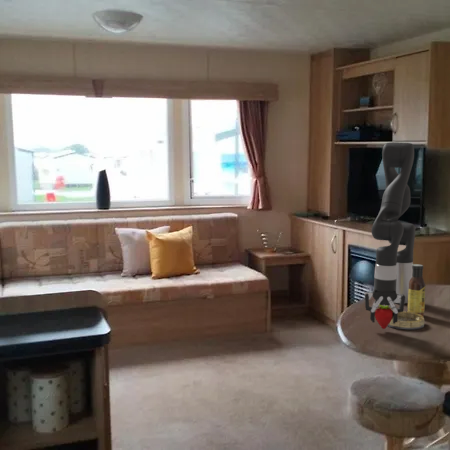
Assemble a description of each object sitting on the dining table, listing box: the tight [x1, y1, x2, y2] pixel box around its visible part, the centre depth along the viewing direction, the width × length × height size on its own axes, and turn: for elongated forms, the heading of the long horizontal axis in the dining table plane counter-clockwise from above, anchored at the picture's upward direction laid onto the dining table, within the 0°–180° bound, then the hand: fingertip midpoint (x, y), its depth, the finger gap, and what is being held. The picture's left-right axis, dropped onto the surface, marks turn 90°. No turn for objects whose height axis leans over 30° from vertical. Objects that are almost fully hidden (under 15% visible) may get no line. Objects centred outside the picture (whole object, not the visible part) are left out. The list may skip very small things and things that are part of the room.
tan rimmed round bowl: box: [387, 310, 425, 331], centre depth 217 cm, size 15×15×3 cm
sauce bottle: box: [407, 263, 426, 317], centre depth 227 cm, size 7×6×20 cm
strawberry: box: [375, 305, 393, 330], centre depth 208 cm, size 6×8×10 cm
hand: (383, 322), depth 208 cm, fingers closed on strawberry, 6 cm apart
